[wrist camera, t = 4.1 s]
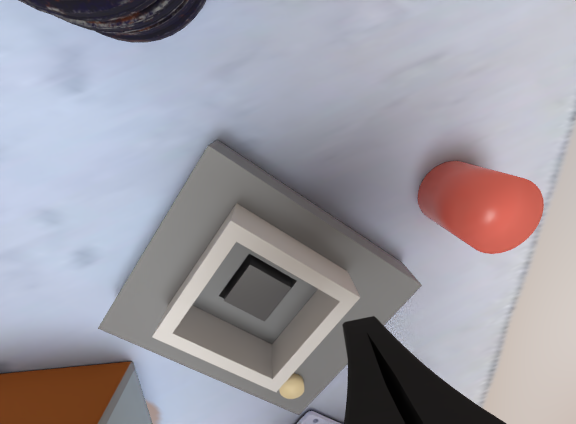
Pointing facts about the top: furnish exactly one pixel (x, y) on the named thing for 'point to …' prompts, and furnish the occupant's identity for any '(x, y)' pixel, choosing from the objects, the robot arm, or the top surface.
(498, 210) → the cap
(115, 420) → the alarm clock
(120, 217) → the top surface
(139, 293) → the grey square socket base
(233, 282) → the button
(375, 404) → the robot arm
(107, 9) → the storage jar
